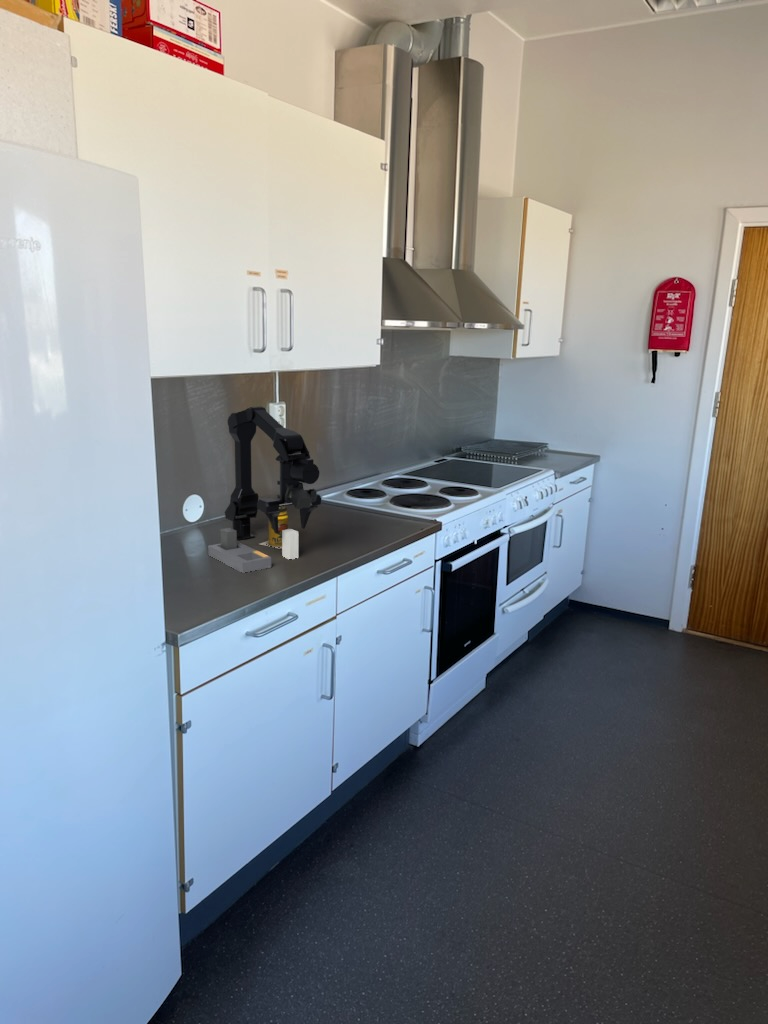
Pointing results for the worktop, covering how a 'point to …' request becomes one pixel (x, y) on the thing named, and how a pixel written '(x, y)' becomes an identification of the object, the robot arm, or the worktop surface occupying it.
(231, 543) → the dark gray block
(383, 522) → the worktop surface
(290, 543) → the plug
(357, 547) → the worktop surface
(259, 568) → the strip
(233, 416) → the robot arm
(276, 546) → the condiment
